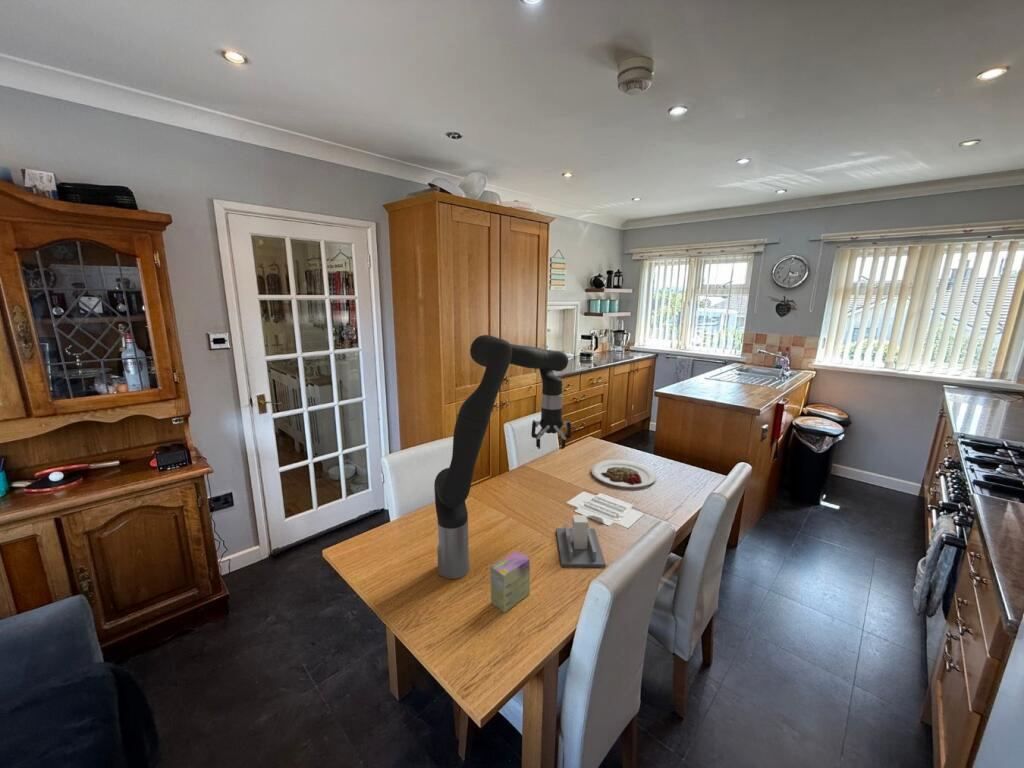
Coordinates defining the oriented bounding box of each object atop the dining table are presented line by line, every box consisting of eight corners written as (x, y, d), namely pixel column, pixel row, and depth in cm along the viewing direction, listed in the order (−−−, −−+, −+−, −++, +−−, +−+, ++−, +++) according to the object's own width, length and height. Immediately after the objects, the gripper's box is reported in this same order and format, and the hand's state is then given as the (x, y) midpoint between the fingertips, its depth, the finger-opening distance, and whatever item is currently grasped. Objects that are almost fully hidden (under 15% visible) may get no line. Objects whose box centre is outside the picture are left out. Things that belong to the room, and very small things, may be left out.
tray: (587, 490, 180) (588, 482, 179) (647, 514, 162) (648, 506, 161) (561, 508, 165) (561, 499, 164) (623, 537, 147) (624, 528, 146)
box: (516, 584, 121) (516, 549, 118) (530, 594, 117) (530, 558, 114) (490, 602, 114) (489, 566, 111) (504, 613, 110) (503, 576, 107)
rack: (561, 566, 129) (561, 555, 128) (556, 530, 148) (556, 520, 147) (605, 567, 128) (606, 556, 127) (594, 531, 148) (594, 521, 147)
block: (573, 548, 136) (574, 522, 134) (571, 540, 140) (572, 515, 138) (587, 549, 136) (588, 522, 134) (584, 541, 140) (585, 515, 138)
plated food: (605, 458, 214) (606, 452, 213) (663, 472, 197) (664, 466, 196) (580, 479, 190) (580, 472, 189) (643, 497, 173) (644, 490, 172)
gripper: (532, 408, 141) (531, 452, 144) (573, 408, 140) (571, 452, 144) (531, 402, 148) (531, 444, 152) (570, 403, 148) (568, 444, 151)
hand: (550, 448), depth 148 cm, fingers open, 8 cm apart
